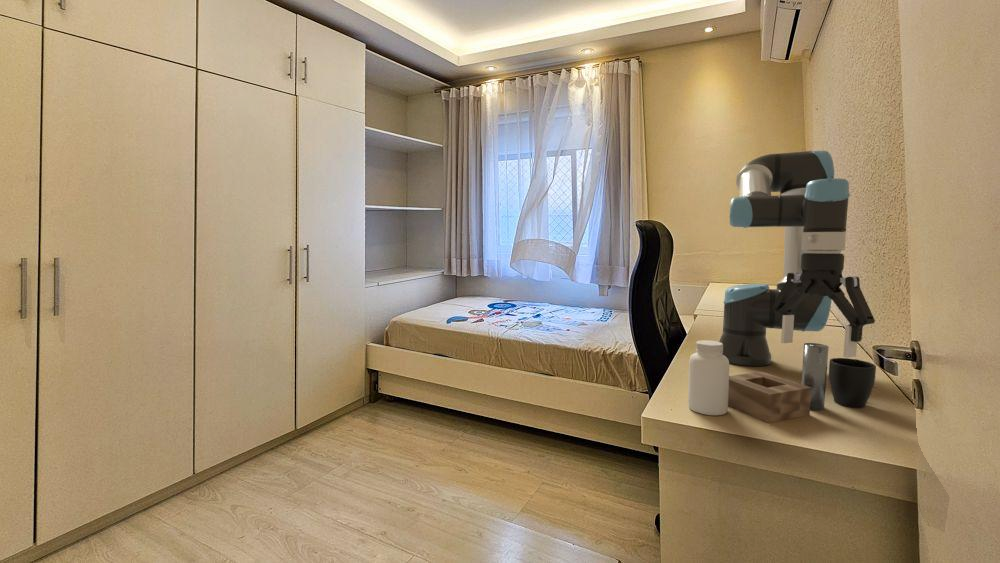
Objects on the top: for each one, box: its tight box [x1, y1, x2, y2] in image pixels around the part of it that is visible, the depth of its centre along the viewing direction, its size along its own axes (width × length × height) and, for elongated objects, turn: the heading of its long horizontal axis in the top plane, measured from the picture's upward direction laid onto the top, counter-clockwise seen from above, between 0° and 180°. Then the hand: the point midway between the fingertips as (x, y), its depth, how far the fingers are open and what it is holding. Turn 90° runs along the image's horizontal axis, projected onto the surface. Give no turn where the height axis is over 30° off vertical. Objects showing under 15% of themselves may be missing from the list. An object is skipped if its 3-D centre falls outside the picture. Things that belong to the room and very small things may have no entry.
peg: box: [800, 342, 829, 412], centre depth 98 cm, size 4×4×14 cm
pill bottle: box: [687, 339, 730, 416], centre depth 97 cm, size 8×8×15 cm
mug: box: [828, 357, 877, 409], centre depth 101 cm, size 8×12×10 cm
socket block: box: [728, 371, 811, 424], centre depth 97 cm, size 12×12×6 cm
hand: (816, 349), depth 97 cm, fingers open, 13 cm apart
